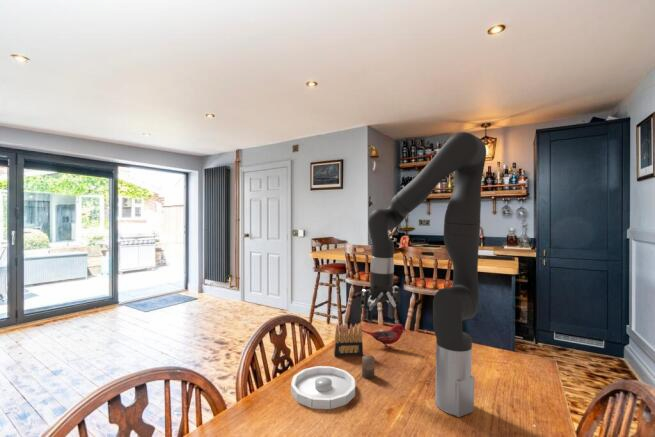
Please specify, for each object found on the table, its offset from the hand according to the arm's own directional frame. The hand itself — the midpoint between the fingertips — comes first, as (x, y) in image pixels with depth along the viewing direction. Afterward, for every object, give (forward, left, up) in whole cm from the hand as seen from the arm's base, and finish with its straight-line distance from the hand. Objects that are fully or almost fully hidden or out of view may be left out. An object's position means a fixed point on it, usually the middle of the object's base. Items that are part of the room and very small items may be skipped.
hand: (380, 319), depth 105 cm
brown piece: (+2, +3, -19) cm, 19 cm away
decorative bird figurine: (+18, -15, -19) cm, 30 cm away
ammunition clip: (+18, +1, -19) cm, 26 cm away
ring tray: (+1, +20, -19) cm, 28 cm away
